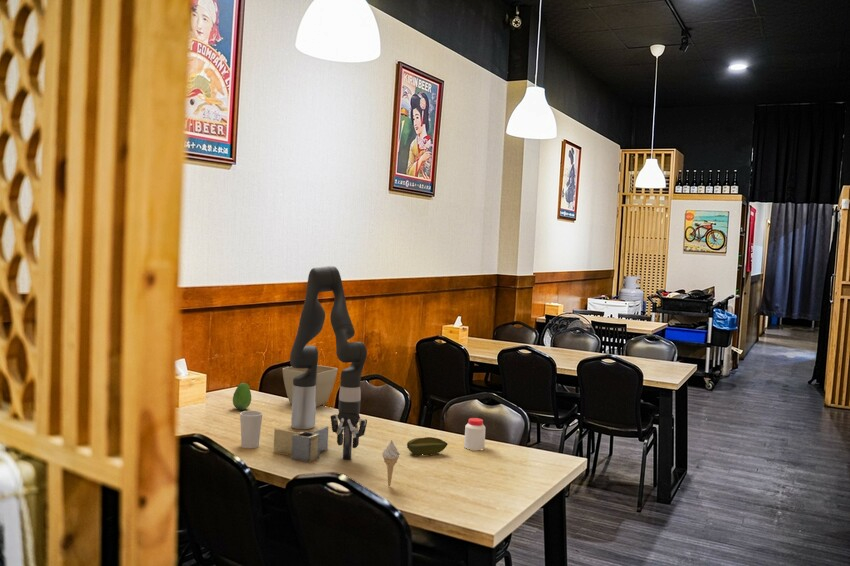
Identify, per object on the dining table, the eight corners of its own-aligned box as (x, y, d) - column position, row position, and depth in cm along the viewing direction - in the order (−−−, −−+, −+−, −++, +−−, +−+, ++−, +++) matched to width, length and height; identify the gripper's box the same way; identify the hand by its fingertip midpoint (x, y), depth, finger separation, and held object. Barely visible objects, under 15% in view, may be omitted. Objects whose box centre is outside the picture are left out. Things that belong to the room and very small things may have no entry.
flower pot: (337, 403, 332) (338, 367, 331) (314, 410, 314) (316, 373, 313) (303, 397, 339) (304, 363, 338) (279, 404, 322) (281, 368, 321)
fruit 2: (422, 448, 265) (423, 430, 265) (448, 455, 258) (449, 437, 258) (403, 454, 256) (404, 436, 256) (429, 461, 249) (430, 443, 249)
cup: (255, 449, 252) (256, 416, 251) (234, 447, 253) (236, 414, 253) (264, 443, 259) (266, 411, 259) (244, 441, 261) (246, 409, 260)
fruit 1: (233, 407, 313) (234, 380, 312) (252, 407, 314) (253, 381, 313) (230, 411, 305) (232, 384, 304) (249, 411, 306) (250, 384, 305)
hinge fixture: (296, 443, 263) (297, 420, 262) (334, 450, 256) (335, 427, 255) (268, 454, 248) (269, 430, 247) (307, 462, 240) (308, 438, 240)
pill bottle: (487, 447, 270) (488, 419, 270) (480, 452, 263) (481, 423, 263) (468, 444, 274) (470, 416, 273) (461, 448, 267) (462, 420, 266)
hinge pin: (345, 456, 249) (347, 423, 248) (352, 458, 248) (354, 424, 247) (340, 458, 246) (342, 425, 246) (348, 460, 245) (349, 426, 245)
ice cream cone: (380, 483, 223) (382, 436, 223) (397, 483, 224) (400, 437, 223) (380, 489, 218) (383, 441, 217) (398, 489, 218) (401, 442, 217)
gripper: (372, 399, 246) (370, 447, 247) (338, 394, 252) (335, 440, 253) (362, 403, 240) (359, 452, 240) (326, 397, 246) (324, 445, 247)
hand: (347, 446), depth 247 cm, fingers open, 5 cm apart
